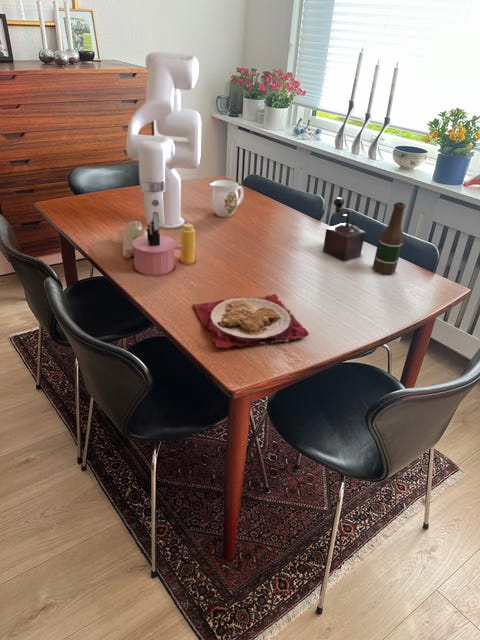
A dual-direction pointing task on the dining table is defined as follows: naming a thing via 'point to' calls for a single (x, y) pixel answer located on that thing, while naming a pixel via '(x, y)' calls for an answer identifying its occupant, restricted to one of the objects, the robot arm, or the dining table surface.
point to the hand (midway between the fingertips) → (153, 242)
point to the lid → (144, 246)
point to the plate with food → (249, 321)
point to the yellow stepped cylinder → (187, 243)
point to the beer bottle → (390, 243)
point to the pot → (153, 260)
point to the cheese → (132, 236)
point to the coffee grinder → (343, 237)
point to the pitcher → (226, 197)
